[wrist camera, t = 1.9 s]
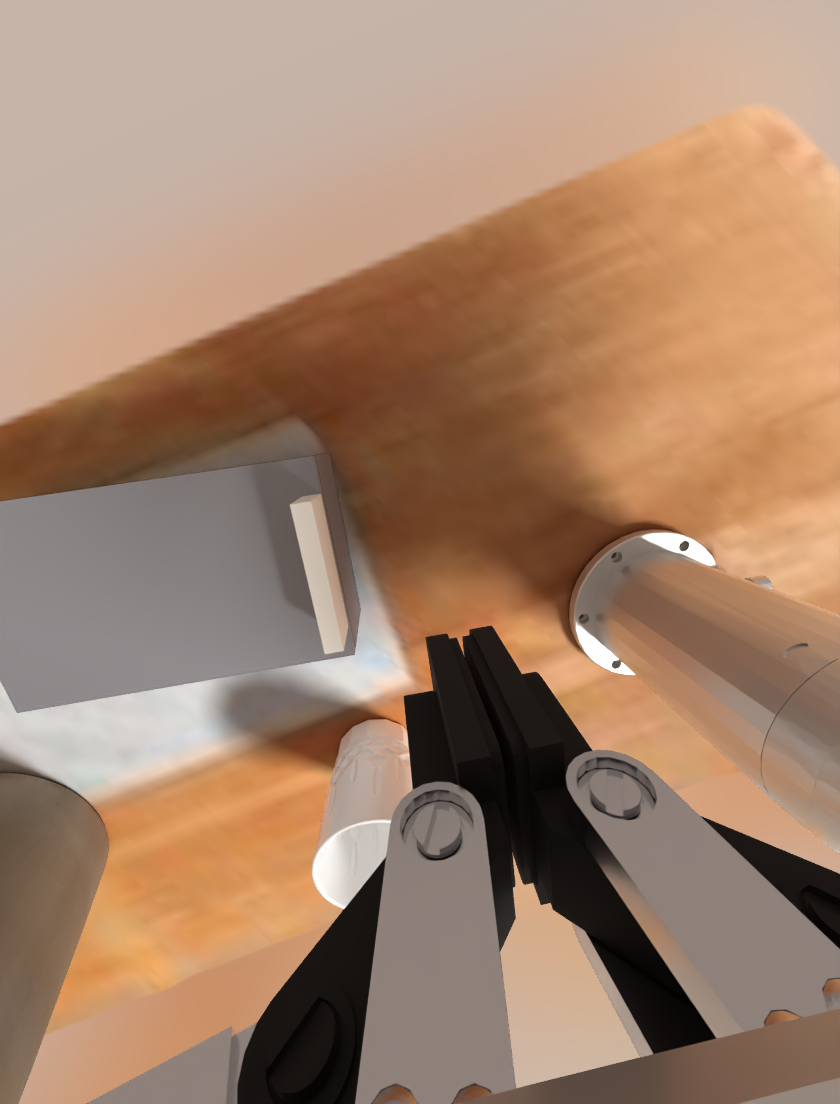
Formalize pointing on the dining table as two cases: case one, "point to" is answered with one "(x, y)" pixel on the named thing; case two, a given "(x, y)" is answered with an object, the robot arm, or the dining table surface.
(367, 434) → the dining table surface
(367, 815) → the white cup
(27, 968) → the plant pot
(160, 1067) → the robot arm
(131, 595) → the mailer lid
